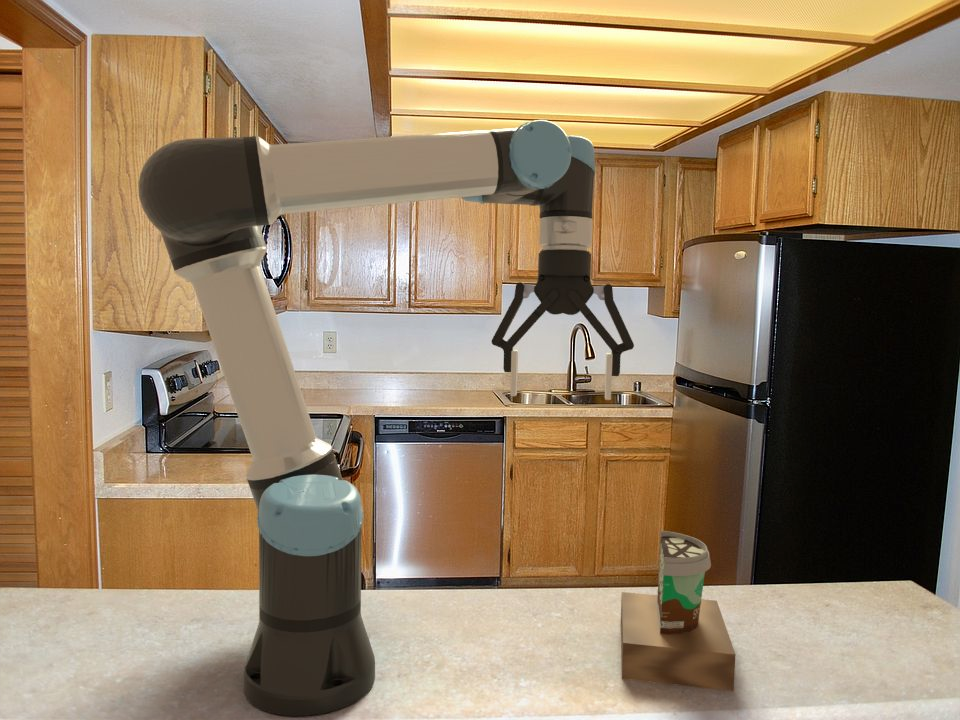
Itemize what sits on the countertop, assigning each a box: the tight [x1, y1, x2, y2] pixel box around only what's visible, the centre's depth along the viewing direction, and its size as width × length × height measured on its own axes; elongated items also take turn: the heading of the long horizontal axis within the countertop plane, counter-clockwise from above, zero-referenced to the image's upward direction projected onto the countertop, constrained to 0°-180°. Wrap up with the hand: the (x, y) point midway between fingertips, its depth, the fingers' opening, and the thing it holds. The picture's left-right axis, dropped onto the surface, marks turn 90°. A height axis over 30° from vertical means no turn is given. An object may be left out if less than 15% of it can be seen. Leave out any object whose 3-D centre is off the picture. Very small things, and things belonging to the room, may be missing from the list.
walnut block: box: [620, 591, 736, 692], centre depth 96 cm, size 13×16×5 cm
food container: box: [657, 530, 712, 634], centre depth 95 cm, size 12×6×10 cm, turn 168°
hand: (560, 397), depth 106 cm, fingers open, 13 cm apart
